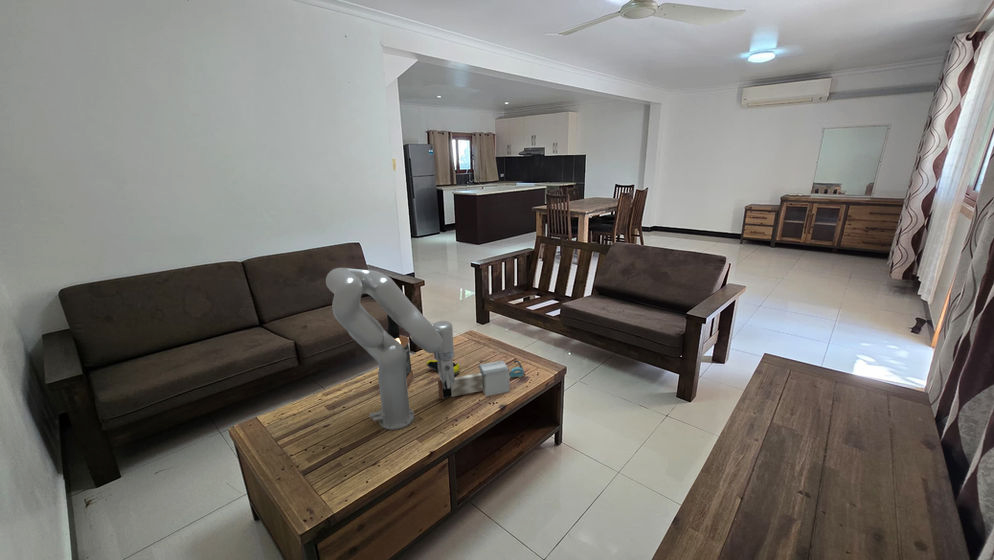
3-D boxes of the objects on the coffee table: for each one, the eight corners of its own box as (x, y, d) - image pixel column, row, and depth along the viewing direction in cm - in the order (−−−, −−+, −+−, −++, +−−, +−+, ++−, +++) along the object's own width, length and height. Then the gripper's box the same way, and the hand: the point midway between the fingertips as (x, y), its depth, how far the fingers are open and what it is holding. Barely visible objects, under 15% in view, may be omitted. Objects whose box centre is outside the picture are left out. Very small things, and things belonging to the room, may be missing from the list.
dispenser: (485, 396, 159) (484, 374, 156) (479, 386, 167) (478, 364, 164) (509, 391, 162) (509, 369, 159) (503, 381, 170) (502, 360, 167)
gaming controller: (449, 382, 170) (465, 372, 178) (448, 371, 169) (464, 361, 176) (425, 372, 179) (441, 363, 187) (424, 361, 177) (440, 352, 185)
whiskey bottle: (405, 391, 164) (398, 318, 155) (383, 389, 166) (374, 317, 157) (414, 377, 174) (408, 309, 165) (393, 376, 176) (385, 308, 166)
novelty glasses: (492, 382, 170) (492, 371, 169) (488, 365, 184) (488, 355, 183) (524, 379, 172) (524, 368, 171) (518, 362, 186) (518, 352, 185)
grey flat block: (439, 399, 157) (438, 383, 154) (438, 396, 158) (437, 380, 156) (482, 390, 162) (482, 375, 160) (481, 387, 164) (480, 372, 162)
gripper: (458, 360, 147) (460, 404, 152) (449, 342, 161) (451, 383, 167) (438, 364, 145) (441, 408, 150) (430, 345, 159) (433, 386, 164)
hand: (446, 394), depth 158 cm, fingers closed on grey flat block, 2 cm apart
